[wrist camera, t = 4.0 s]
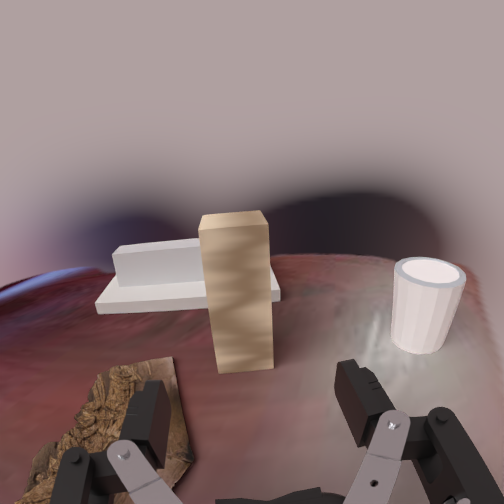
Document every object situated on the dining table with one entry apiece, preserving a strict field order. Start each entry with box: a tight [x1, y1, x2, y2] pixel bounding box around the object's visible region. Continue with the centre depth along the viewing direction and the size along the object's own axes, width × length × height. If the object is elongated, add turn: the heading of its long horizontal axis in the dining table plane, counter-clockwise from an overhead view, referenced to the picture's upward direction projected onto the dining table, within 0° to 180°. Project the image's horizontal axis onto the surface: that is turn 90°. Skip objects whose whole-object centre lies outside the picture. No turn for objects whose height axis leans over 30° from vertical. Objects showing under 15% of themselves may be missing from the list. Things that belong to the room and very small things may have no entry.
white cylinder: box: [390, 257, 466, 355], centre depth 24 cm, size 7×7×7 cm
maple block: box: [198, 211, 274, 374], centre depth 24 cm, size 4×4×12 cm
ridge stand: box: [95, 238, 280, 314], centre depth 38 cm, size 22×12×6 cm, turn 95°
